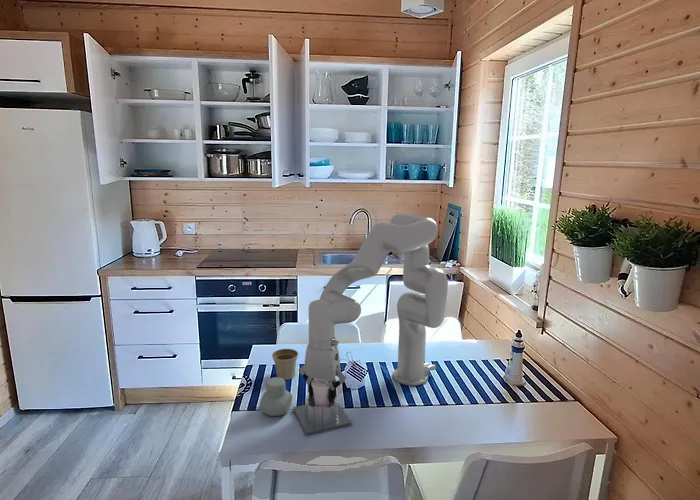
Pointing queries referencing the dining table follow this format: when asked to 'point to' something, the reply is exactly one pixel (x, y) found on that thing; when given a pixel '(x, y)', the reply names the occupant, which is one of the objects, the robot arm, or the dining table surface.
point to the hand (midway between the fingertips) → (322, 396)
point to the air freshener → (275, 398)
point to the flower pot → (285, 363)
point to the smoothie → (320, 392)
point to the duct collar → (321, 416)
